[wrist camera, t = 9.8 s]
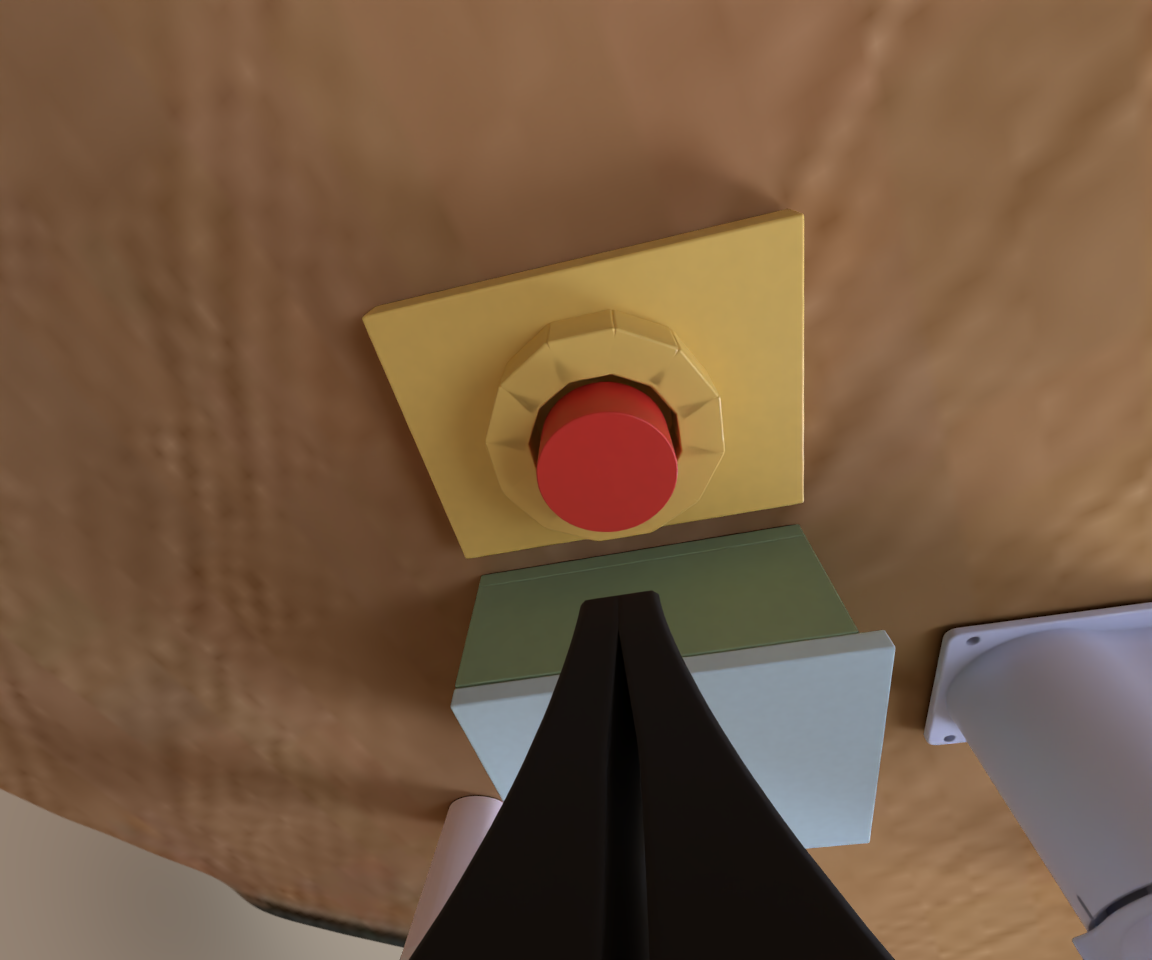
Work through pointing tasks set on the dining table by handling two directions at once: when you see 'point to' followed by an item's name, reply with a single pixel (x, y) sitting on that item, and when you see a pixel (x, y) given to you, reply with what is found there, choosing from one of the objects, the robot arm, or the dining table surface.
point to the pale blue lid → (748, 725)
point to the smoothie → (451, 860)
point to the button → (606, 458)
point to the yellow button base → (610, 375)
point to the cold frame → (687, 594)
